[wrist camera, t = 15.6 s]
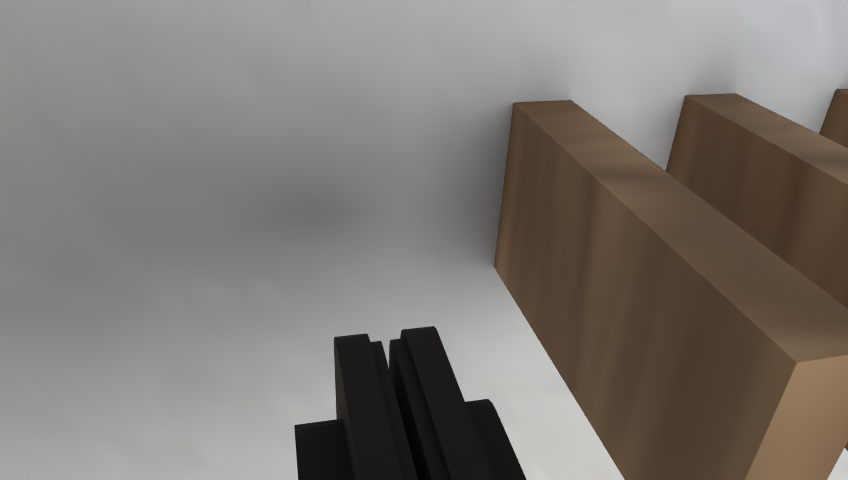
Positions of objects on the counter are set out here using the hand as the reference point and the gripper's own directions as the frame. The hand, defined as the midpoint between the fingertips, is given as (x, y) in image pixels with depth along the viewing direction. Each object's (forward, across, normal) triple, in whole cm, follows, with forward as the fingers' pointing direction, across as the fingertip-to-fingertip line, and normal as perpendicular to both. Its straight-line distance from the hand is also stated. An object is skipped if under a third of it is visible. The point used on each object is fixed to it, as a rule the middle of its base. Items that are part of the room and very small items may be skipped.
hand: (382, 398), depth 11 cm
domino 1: (+7, -5, 0) cm, 9 cm away
